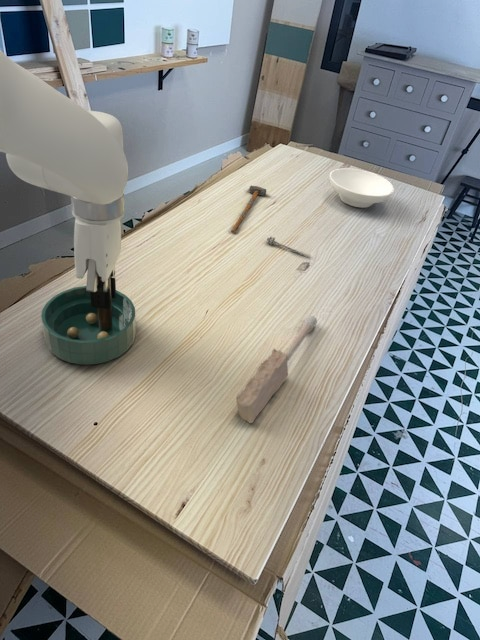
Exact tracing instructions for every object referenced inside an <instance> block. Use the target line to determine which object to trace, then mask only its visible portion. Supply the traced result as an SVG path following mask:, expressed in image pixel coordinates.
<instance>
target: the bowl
mask: <svg viewBox="0 0 480 640" xmlns="http://www.w3.org/2000/svg"><path fill="white" fill-rule="evenodd" d="M329 183H330V185H331V187H332V189H333V190H334V191H335V192H336V193H337V194H338V195H339V198H340V200H341V201H342V202H343V203H345V204H347V205H348V206H351V207H355V208H363V209H364V208H369V207H371V206H372V205H374V204H378V203H382V202H385V201H386V200H387V199H389V198H390V197H391V196H392V195H393V193H394V191H395V186H394V185H393V184H392V182H390V181H389V180H388V179H386V178H385V177H383V176H382V175H380V174H378V173H377V174H376V173H374V172H372V171H368V170H365V169H360V168H354V167H353V168H352V167H341V168H336V169H333V170H331V171H330V172H329Z"/></svg>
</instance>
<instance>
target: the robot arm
mask: <svg viewBox="0 0 480 640" xmlns="http://www.w3.org/2000/svg"><path fill="white" fill-rule="evenodd" d="M0 152H1V153H4V154H5V158H6V162H7V165H8V168H9V169H10V170H11V171H12V173H13V174H14V175H15V176H16V177H17V178H19V179H20V180H21V181H23V182H25V183H28V184H30V185H33V186H36V187H38V188H41V189H45V190H48V191H52V192H54V193H55V192H56V193H58V194H59V193H60V194H63V195H66V196H68V197H70V205H71V214H72V216H73V217H74V218H75V220H74V228H73V251H74V255H73V256H74V271H75V277H76V278H77V279H84V276H85V275H86V285H85V286H86V291H88V292H90V296H91V306H92V307H96V308H103V309H110V307H111V298H115V296H116V290H117V284H116V264H117V262H118V260H119V258H120V255H121V252H122V225H121V224H122V223H121V220H122V219H123V218H124V216H125V213H126V212H125V190H126V187H127V184H128V181H129V164H128V160H127V157H126V153H125V151H124V133H123V127H122V124H121V121H120V120H119V119H118V118H117V117H115V116H114V115H112V114H109V113H106V112H102V111H98V110H97V111H96V110H87V109H86V108H85V107H82V106H81V105H80V104H79V103H77V102H76V101H74V100H72V99H71V98H70V97H68V96H66V95H65V94H63V93H62V92H61V91H60V90H58V89H56V88H54V87H53V86H52V85H50V84H48V83H47V82H46V81H45V80H43V79H42V78H40V77H38V76H37V75H36V74H34V73H32V72H31V71H29V70H28V69H26V68H25V67H23V66H21V65H20V64H18V63H17V62H15V61H13V60H12V59H11V58H10V57H8V56H7V54H5V53H4V52H3V51H2V50H1V49H0ZM109 276H110V279H111V294H110V289H109V288H108V278H109ZM97 279H100V280H102V282H103V283H101V282H97Z"/></svg>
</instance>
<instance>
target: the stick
mask: <svg viewBox="0 0 480 640" xmlns="http://www.w3.org/2000/svg"><path fill="white" fill-rule="evenodd" d="M97 282H101V283H103V282H102V280H100V279H97ZM108 288H109V289H110V294H111V279H110V276H109V278H108ZM98 322H99V327H100V328H101V329H104V330H107V329H110V328H111V327H112V326H113V322H112V300H111V307H110V309H103V308H98Z"/></svg>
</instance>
